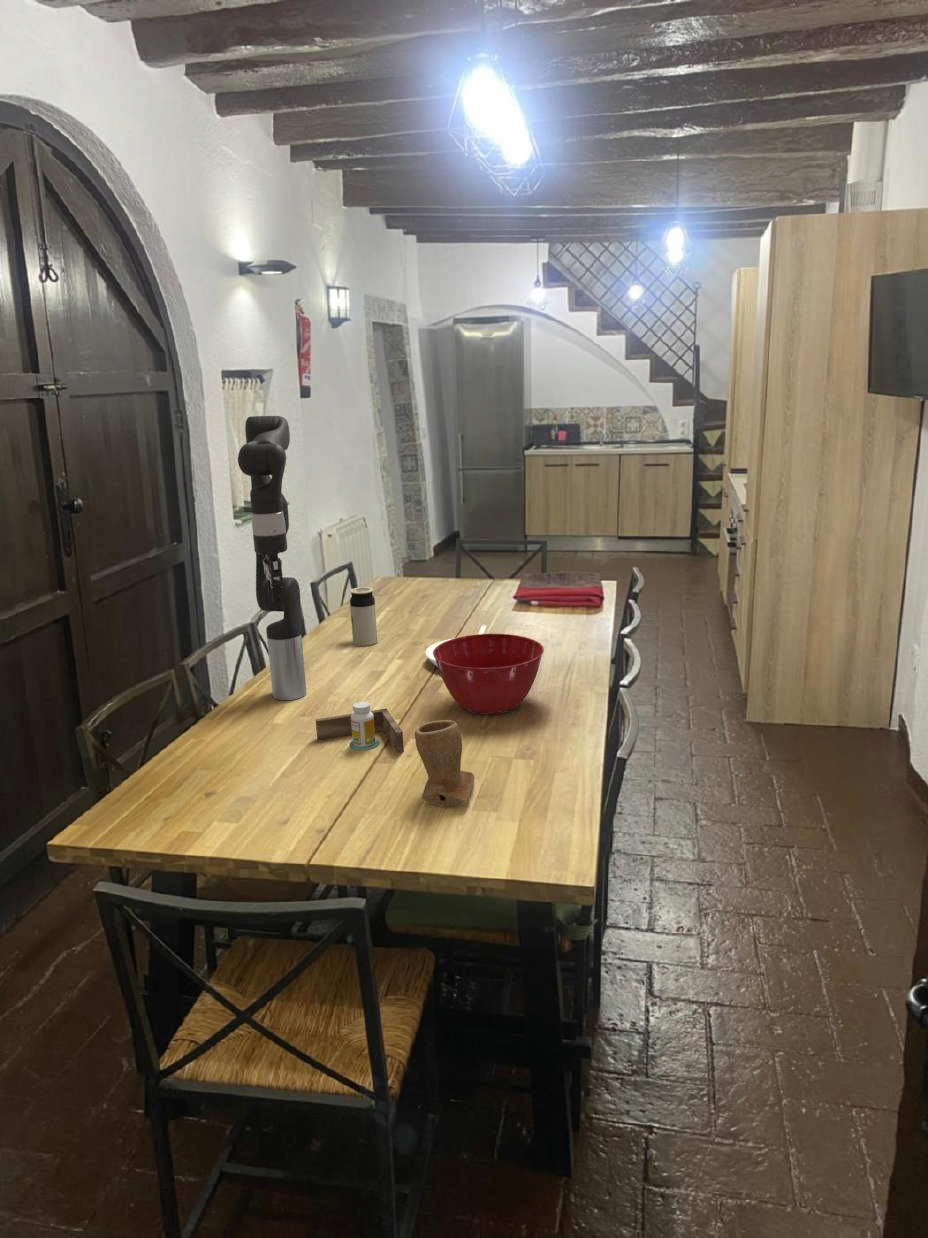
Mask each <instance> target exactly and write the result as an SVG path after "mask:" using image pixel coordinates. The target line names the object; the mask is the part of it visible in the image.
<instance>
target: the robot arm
mask: <svg viewBox="0 0 928 1238" xmlns="http://www.w3.org/2000/svg"><path fill="white" fill-rule="evenodd" d="M244 426H245V427H244V430H245V431H244V432H245V440H246V443H244V444H243V445H242V446H241V448H240V449H239V451H238V455H237V464H238V468H239V469H240V471H241V472H242V473H243V474H244V475H246V476H250V483H251V484H250V485H251V489H250V493H249V497H250V509H251V530H252V538H253V547H254V549H253V550H254V552H255V597H256V604H257V605H258V608H259V609H260V610H261V611H263V612H281V613H283V618H282V619H280V620H277V621H274V622H273V623H270V624H269V625H267V627H266V630H265V631H266V641H267V642H266V643H267V651H268V659H269V661H268V663H269V670H270V671H269V672H270V680H271V681H270V682H271V683H270V684H271V692H272V697H273V699H275V700H278V701H292V700H297V699H300V698H303V697H305V696H306V694H307V692H308V691H307V684H306V683H307V682H306V672H305V670H306V669H305V659H304V649H303V638H302V613H301V612H302V608H301V590H300V589H301V588H300V585H299V582H298V581H297V579H296V578H295V577H292V576H291V577H289V576H288V577H287V576H283V575H284V573H283V569H282V567H283V560H282V559H281V558H280V557H279V554H280V553H282V554H283V553H284V552H285V553H286V551H287V550H288V539H287V534H288V532H289V529H290V522H289V521H290V519H289V517H290V516H289V506H288V505H289V504H288V501H287V499H286V497H285V495H284V494H283V493H282V492H283V491H282V487H283V486H282V485H283V478H284V473H285V468H286V464H287V462H286V461H287V454H286V451H287V450H288V448H289V446H290V442H291V440H290V439H291V438H290V437H291V436H290V435H291V434H290V426H289V422H288V421H287V419H286V418H285V417H283V416H280V415H260V416H259V415H256V416H248V417H247V419H246V420H245V424H244Z"/></svg>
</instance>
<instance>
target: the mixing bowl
mask: <svg viewBox="0 0 928 1238" xmlns="http://www.w3.org/2000/svg"><path fill="white" fill-rule="evenodd" d="M454 638H455V639H453V638H450V639H451V640H448V639H447V640H448V641H446V642H443V643H441V644H440V645H438V646H437V647H436V648H435V649H434V651H433V656H434V657H435V659H436V663H437V666H438V667H437V666H436V667H437V668H438V672H439V674H440V676H441V679H442V681H443V683H444V685H445V687H446V688H447V690H448V692H449V694H450V696H451V697H452V699H453V700H454V701H455V702H456V703H457V704H458V705H459V706H460V707H462V708H463V709H465V710H467V711H469V712H471V713H474V714H478V715H500V714H503V713H504V714H505V713H508V712H510V711H511V710H513V709H515V708H516V707H518V706H519V705H520V704H521V703H522V702H524V700H525V699H526V698H527V696H528V694H529V692H530V691H531V689H532V687H533V684H534V683H535V680H536V677H537V674H538V671H539V667H540V664H541V661H542V657H543V655H544V652H545V651H544V650H545V649H544V646H543V645H542V644H541V643H540V642H539V641H537V640H535V639H532V638H529V637H526V636H521V635H517V634H508V633H484V634H478V633H476V634H470V635H463V636H459V637H454Z"/></svg>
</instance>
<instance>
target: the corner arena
mask: <svg viewBox="0 0 928 1238" xmlns="http://www.w3.org/2000/svg"><path fill="white" fill-rule="evenodd" d="M370 711H371V712H372V713H373V715H374V728H375V733H377V732H381V731H382V730H383V733H384V734H385V736H386V735H387V736H386V738H387V739H388V741H389V742H390V744H391V745H392V746H393V748H394V749H396V750H395V751H396V752H397V754H398V753H404V752H405V748H404V734H403V733H404V731H403V730H402V729H401V727H400V726H399V725H398V723H397V721H396V720H395V719H394V718H393V716H392V714H391V713H390V711H389V710H388V709H387V708H382V709H373V710H370ZM351 715H352V713H347V714H341V715H340V714H339V715H336V716H334V715H333V716H328V717H322V718H321V717H320V718H315V728H316V739H317V741H318V742H319V741H325V740H326V741H327V740H331V739H339V738H344V737H345V738H346V737H351V736H352V727H351ZM376 731H377V732H376ZM350 735H351V736H350ZM379 745H380V740H379V739H378V738H376V737H375V743H374V744H373V745H371V746H367V747H357V746H355V745H354V744H353V740H351V742H349V747H350V748H351V749H352V750H356V749H357V751H368V750H367V749H369V750H372V749H374V748H377V747H378V746H379Z"/></svg>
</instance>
